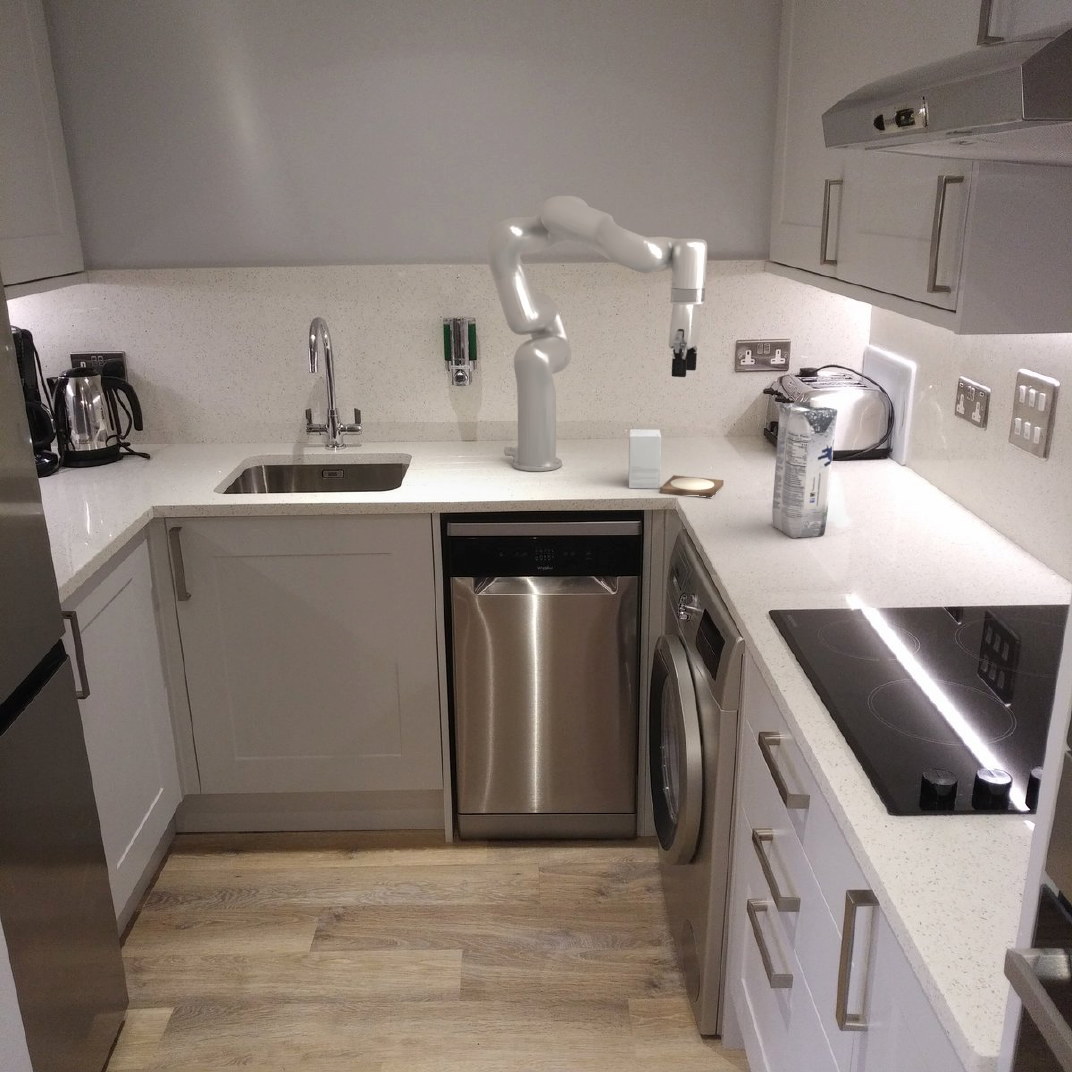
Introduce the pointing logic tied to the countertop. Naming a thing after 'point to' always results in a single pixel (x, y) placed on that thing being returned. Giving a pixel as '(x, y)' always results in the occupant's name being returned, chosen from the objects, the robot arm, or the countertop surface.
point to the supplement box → (644, 458)
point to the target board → (691, 486)
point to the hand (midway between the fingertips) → (683, 373)
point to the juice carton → (803, 467)
